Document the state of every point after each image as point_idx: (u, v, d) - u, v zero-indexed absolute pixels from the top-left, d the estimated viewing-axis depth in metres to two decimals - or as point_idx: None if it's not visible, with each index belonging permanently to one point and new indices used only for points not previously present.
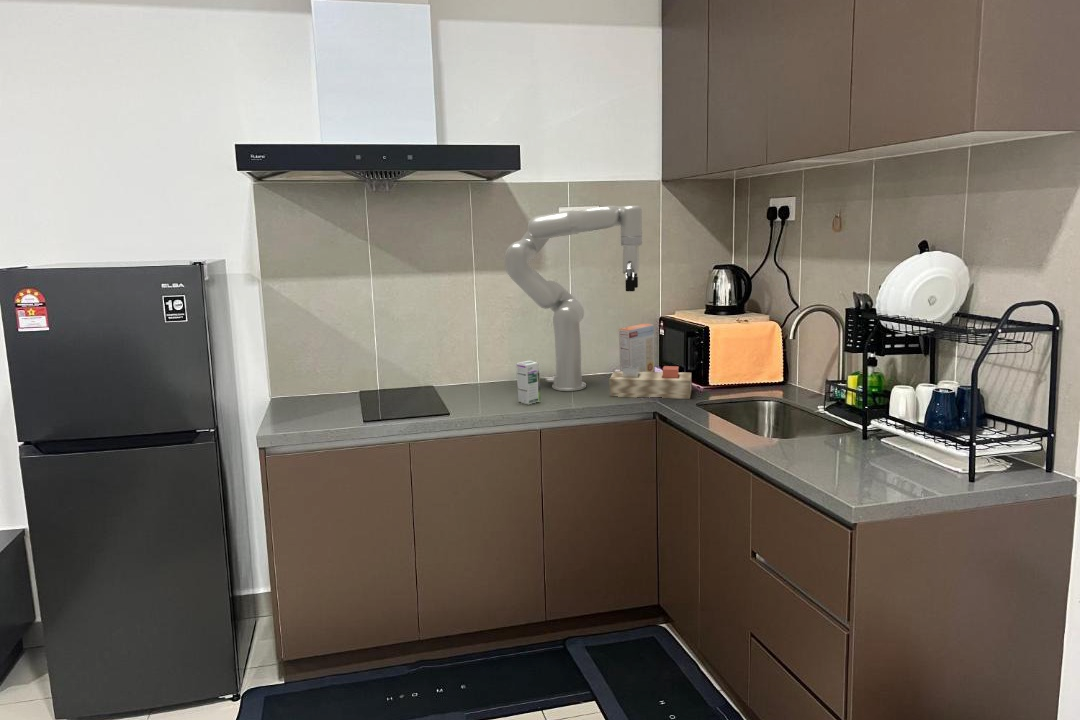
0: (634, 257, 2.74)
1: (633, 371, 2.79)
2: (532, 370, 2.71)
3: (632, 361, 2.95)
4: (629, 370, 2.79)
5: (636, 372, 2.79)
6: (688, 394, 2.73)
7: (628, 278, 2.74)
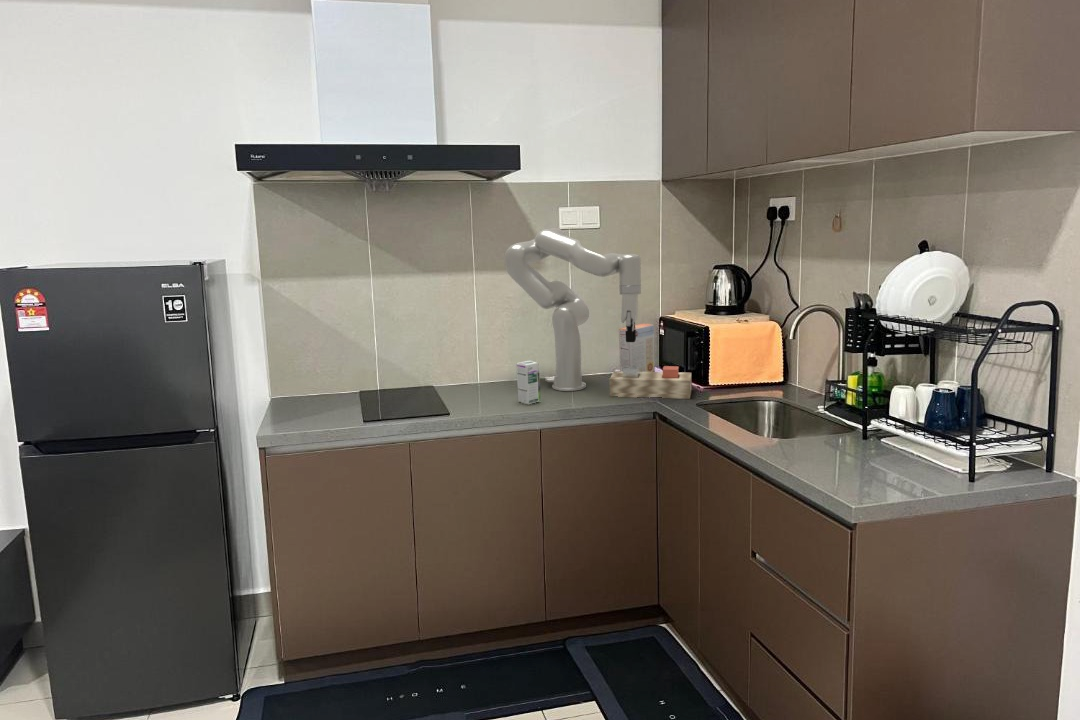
0: (633, 306, 2.72)
1: (633, 371, 2.79)
2: (532, 370, 2.71)
3: (632, 361, 2.95)
4: (629, 370, 2.79)
5: (636, 372, 2.79)
6: (688, 394, 2.73)
7: (628, 329, 2.76)
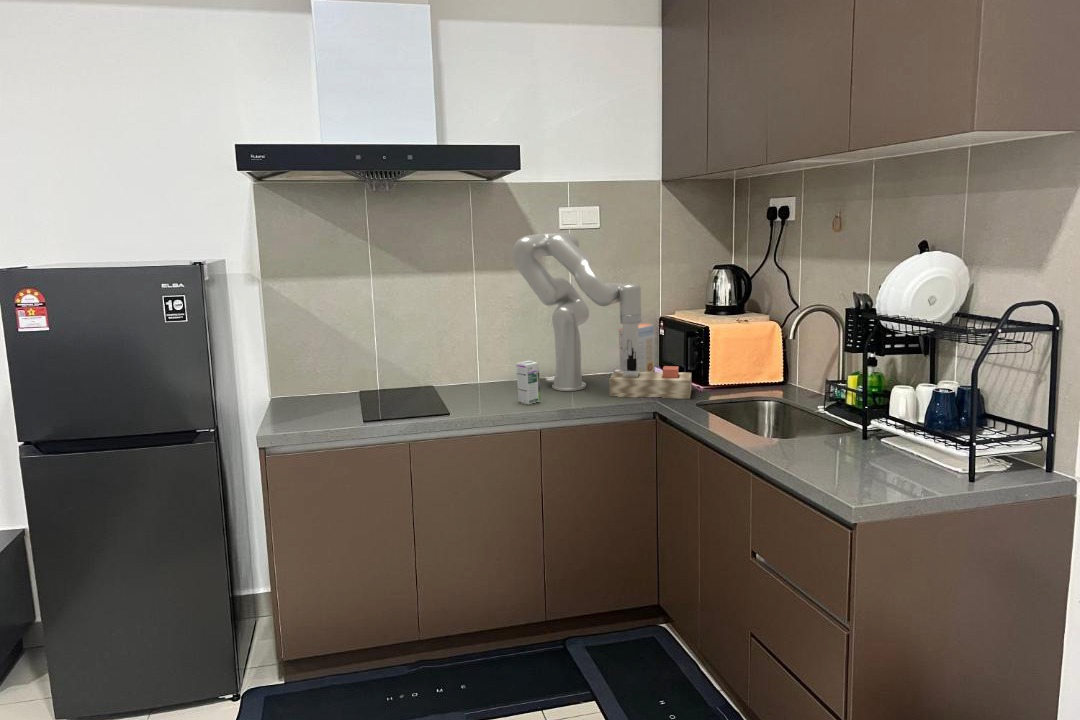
0: (634, 336, 2.74)
1: (633, 373, 2.79)
2: (532, 370, 2.71)
3: None
4: (629, 372, 2.79)
5: (636, 374, 2.79)
6: (688, 394, 2.73)
7: (629, 357, 2.79)
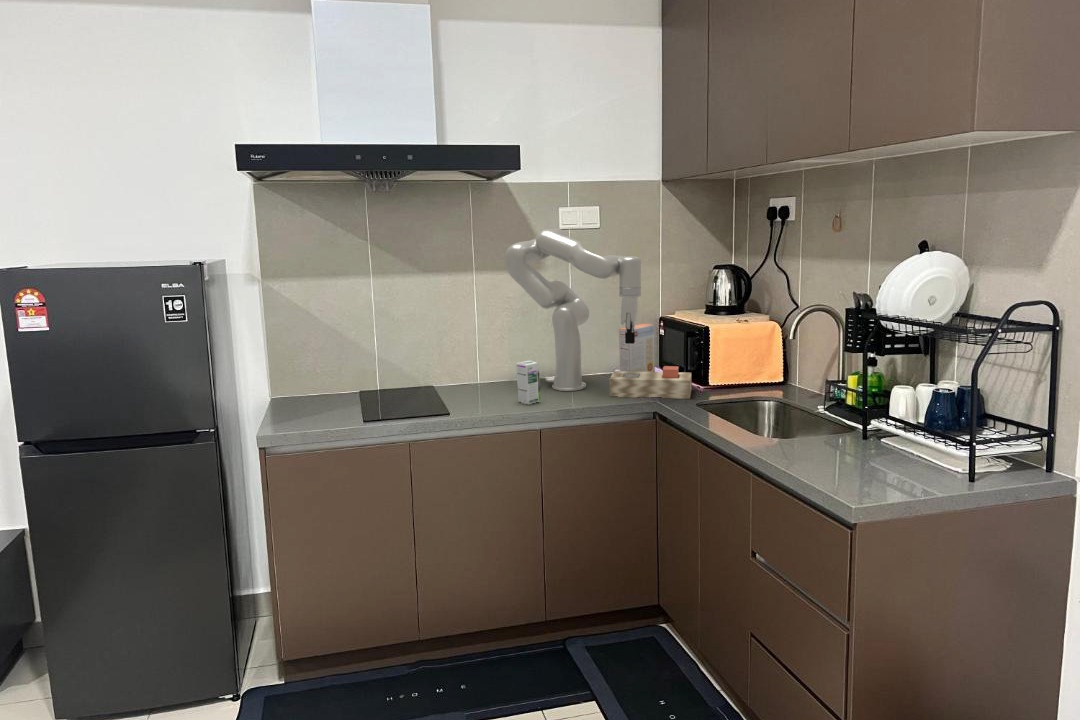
0: (633, 309, 2.72)
1: None
2: (532, 370, 2.71)
3: (632, 361, 2.95)
4: None
5: None
6: (688, 394, 2.73)
7: (628, 331, 2.77)
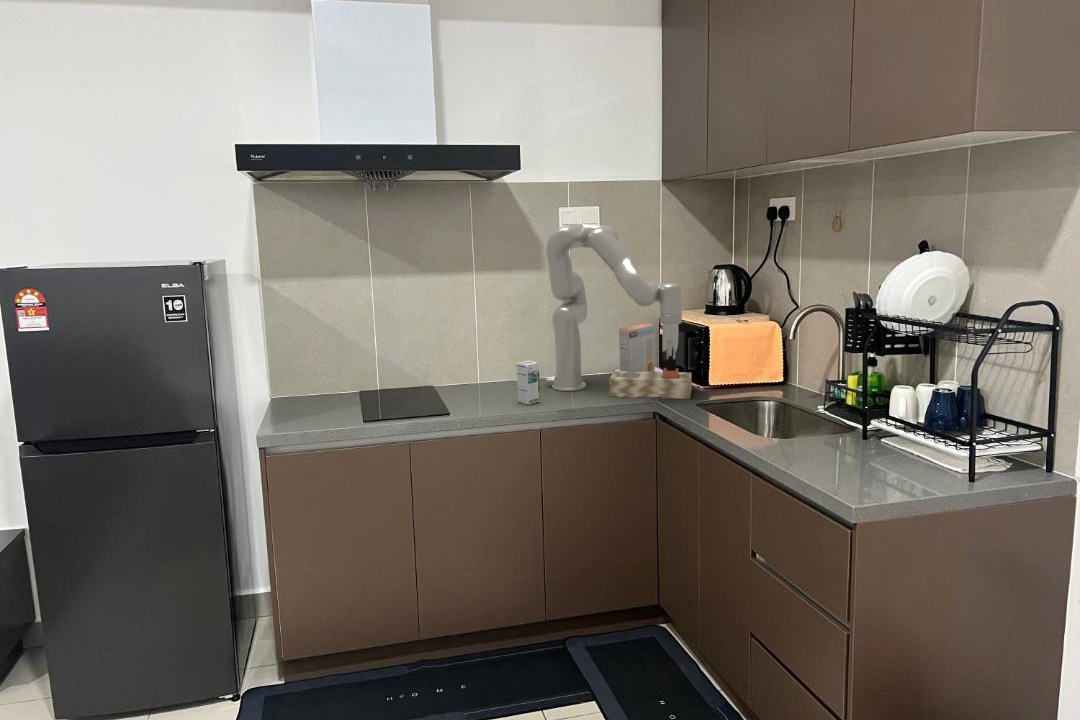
0: (674, 336, 2.71)
1: None
2: (532, 370, 2.71)
3: (632, 361, 2.95)
4: None
5: None
6: (688, 394, 2.73)
7: (669, 358, 2.76)
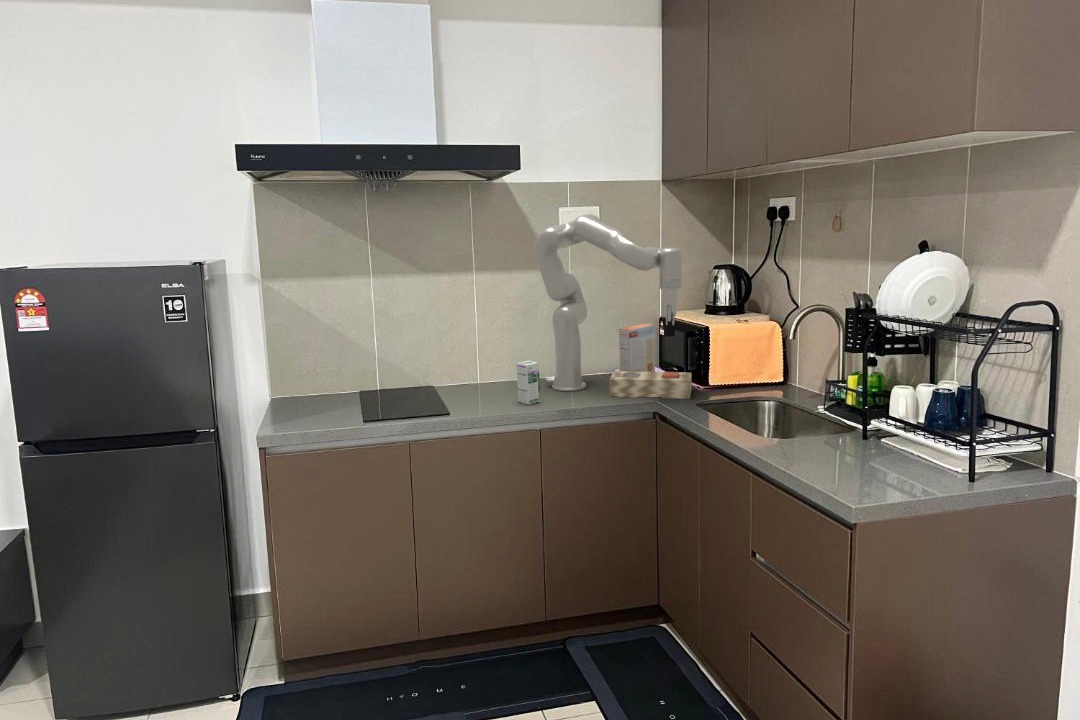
0: (674, 301, 2.68)
1: None
2: (532, 370, 2.71)
3: (632, 361, 2.95)
4: None
5: None
6: (688, 394, 2.73)
7: (668, 323, 2.73)
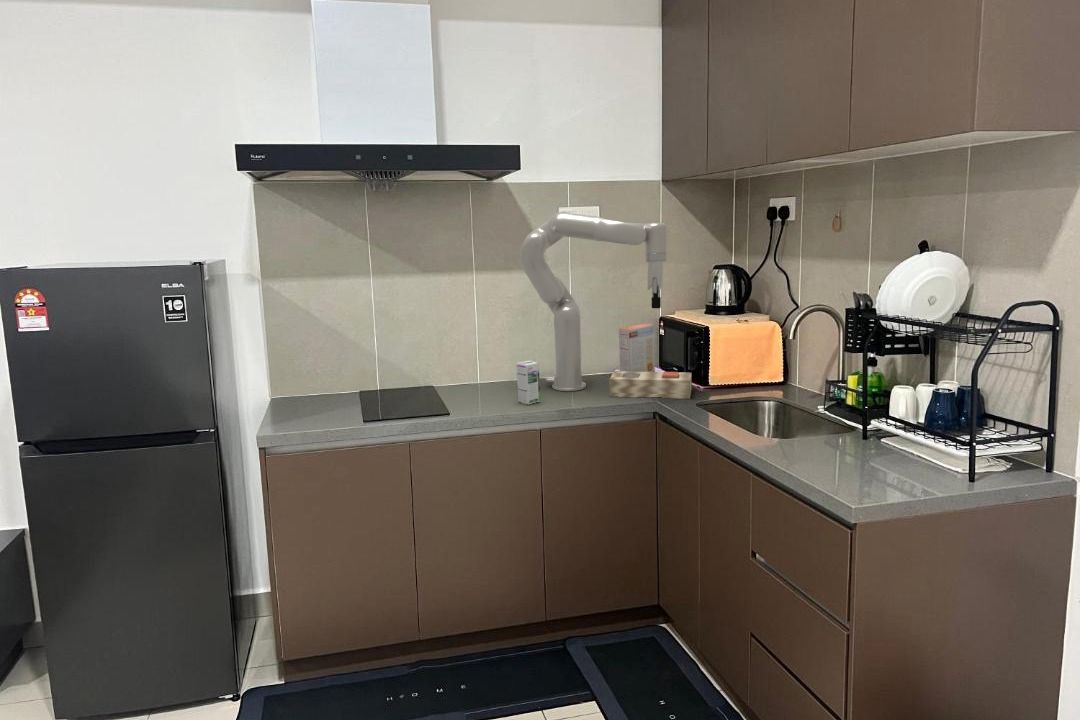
0: (659, 273, 2.79)
1: None
2: (532, 370, 2.71)
3: (632, 361, 2.95)
4: None
5: None
6: (688, 394, 2.73)
7: (654, 296, 2.84)
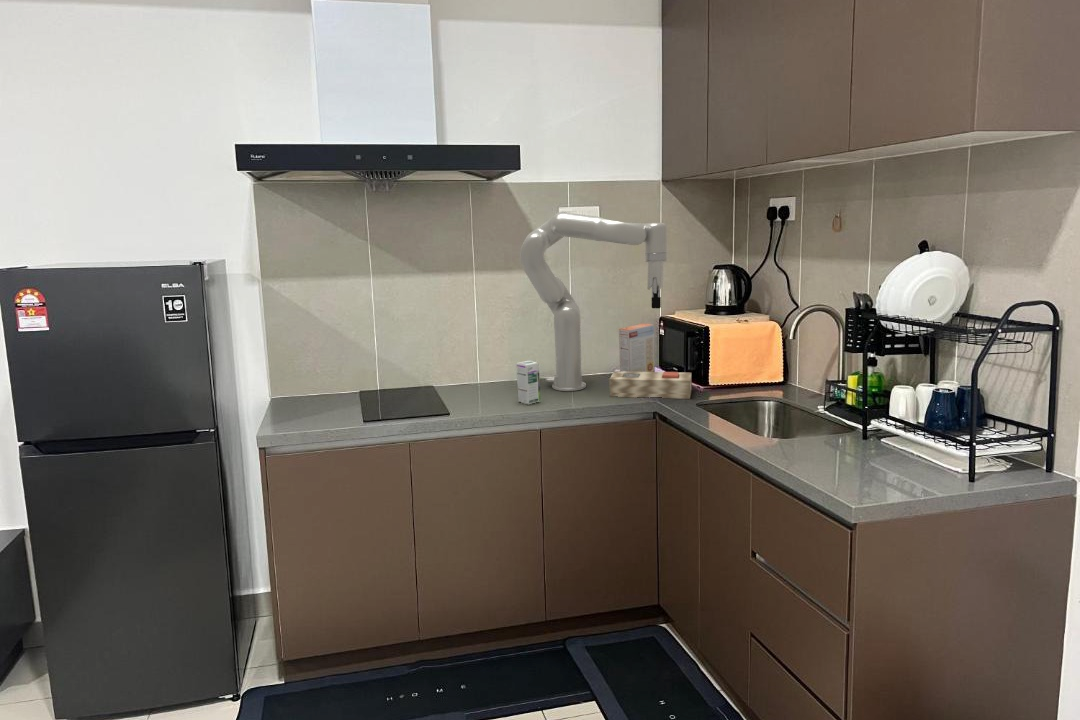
0: (659, 273, 2.79)
1: None
2: (532, 370, 2.71)
3: (632, 361, 2.95)
4: None
5: None
6: (688, 394, 2.73)
7: (654, 296, 2.84)
